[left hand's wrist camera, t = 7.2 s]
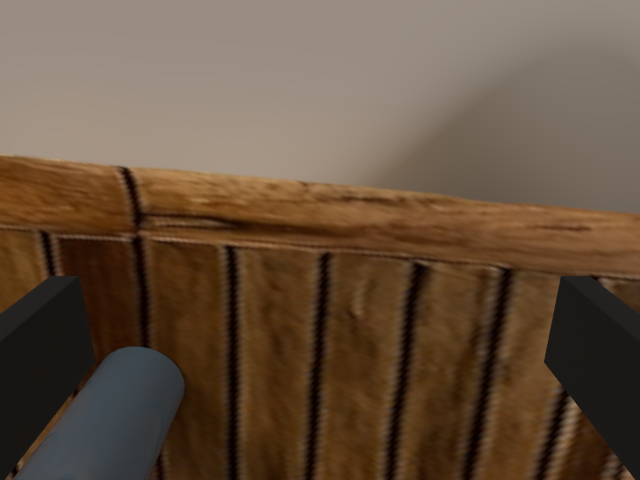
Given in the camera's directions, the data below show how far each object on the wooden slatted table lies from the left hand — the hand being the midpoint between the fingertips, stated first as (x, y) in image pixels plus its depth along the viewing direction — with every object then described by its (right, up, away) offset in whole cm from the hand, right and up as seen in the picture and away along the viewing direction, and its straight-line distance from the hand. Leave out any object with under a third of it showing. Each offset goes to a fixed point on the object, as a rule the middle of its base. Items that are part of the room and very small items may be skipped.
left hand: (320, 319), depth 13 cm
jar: (-18, -13, +34) cm, 41 cm away
